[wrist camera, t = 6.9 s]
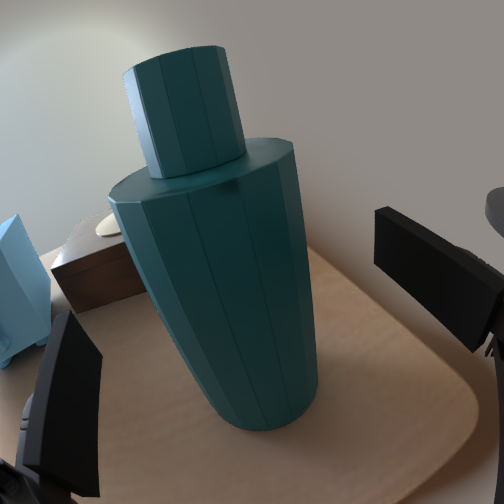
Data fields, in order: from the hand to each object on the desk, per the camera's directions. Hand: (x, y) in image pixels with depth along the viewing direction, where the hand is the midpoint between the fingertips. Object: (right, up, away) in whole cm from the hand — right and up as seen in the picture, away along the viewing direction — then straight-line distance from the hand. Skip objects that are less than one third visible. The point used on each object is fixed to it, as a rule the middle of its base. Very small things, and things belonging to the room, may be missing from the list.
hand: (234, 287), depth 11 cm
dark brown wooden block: (-12, 0, +24) cm, 27 cm away
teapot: (-28, -8, +16) cm, 33 cm away
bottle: (+1, -7, +6) cm, 10 cm away
